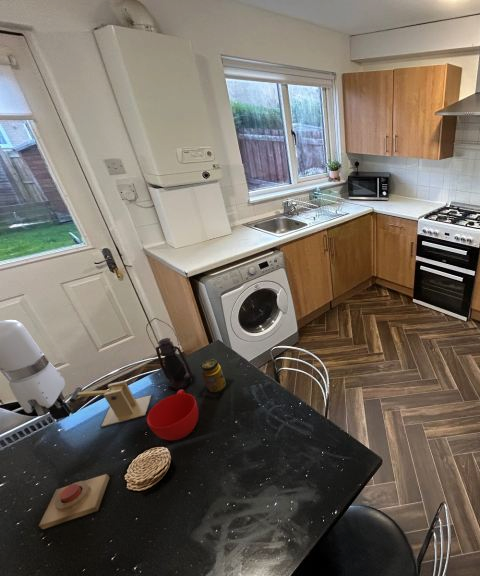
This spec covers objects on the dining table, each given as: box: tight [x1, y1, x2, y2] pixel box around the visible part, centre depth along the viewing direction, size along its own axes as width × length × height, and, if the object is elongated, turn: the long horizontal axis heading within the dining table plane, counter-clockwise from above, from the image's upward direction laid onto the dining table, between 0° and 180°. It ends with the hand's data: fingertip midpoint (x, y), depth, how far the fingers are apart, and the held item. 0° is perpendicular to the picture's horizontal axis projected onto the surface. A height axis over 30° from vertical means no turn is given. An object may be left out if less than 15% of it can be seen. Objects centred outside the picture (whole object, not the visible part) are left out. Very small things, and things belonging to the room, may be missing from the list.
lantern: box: [145, 317, 194, 390], centre depth 110 cm, size 8×8×30 cm
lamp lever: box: [68, 386, 123, 403], centre depth 99 cm, size 12×5×2 cm, turn 113°
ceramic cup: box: [146, 389, 199, 441], centre depth 99 cm, size 13×17×10 cm
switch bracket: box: [101, 380, 152, 428], centre depth 103 cm, size 12×9×12 cm
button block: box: [38, 473, 110, 530], centre depth 80 cm, size 11×9×4 cm
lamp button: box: [60, 483, 82, 503], centre depth 79 cm, size 4×4×2 cm
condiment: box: [201, 358, 227, 393], centre depth 112 cm, size 7×8×12 cm
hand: (63, 415), depth 86 cm, fingers closed
